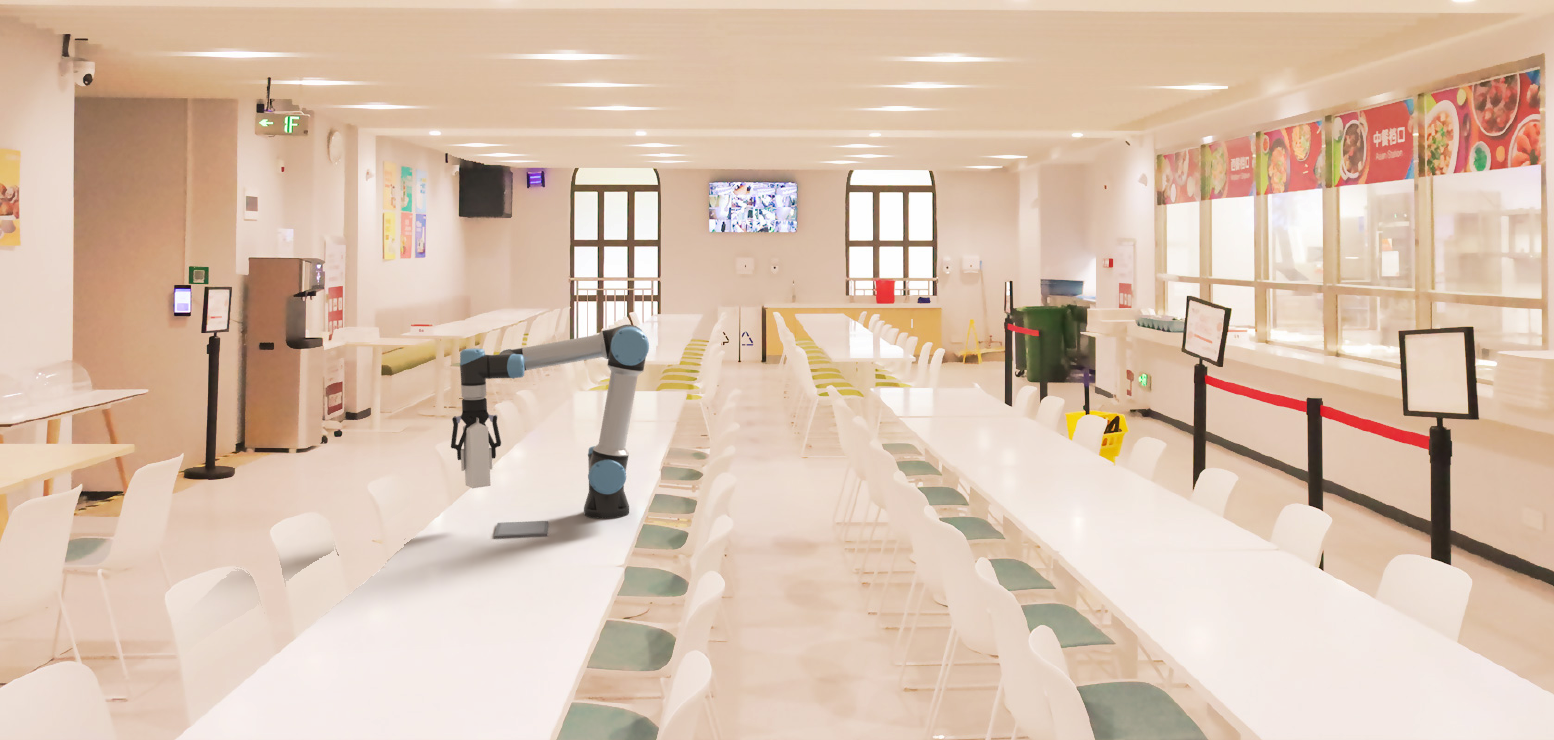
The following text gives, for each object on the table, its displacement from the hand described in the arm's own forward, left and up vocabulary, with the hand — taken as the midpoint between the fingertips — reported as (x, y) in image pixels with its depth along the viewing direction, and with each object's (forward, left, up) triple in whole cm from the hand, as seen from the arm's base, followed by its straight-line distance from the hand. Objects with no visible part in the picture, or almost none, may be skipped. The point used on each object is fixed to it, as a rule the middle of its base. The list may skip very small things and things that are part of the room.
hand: (477, 469), depth 343 cm
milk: (0, 0, -6) cm, 6 cm away
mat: (-14, +5, -19) cm, 24 cm away
